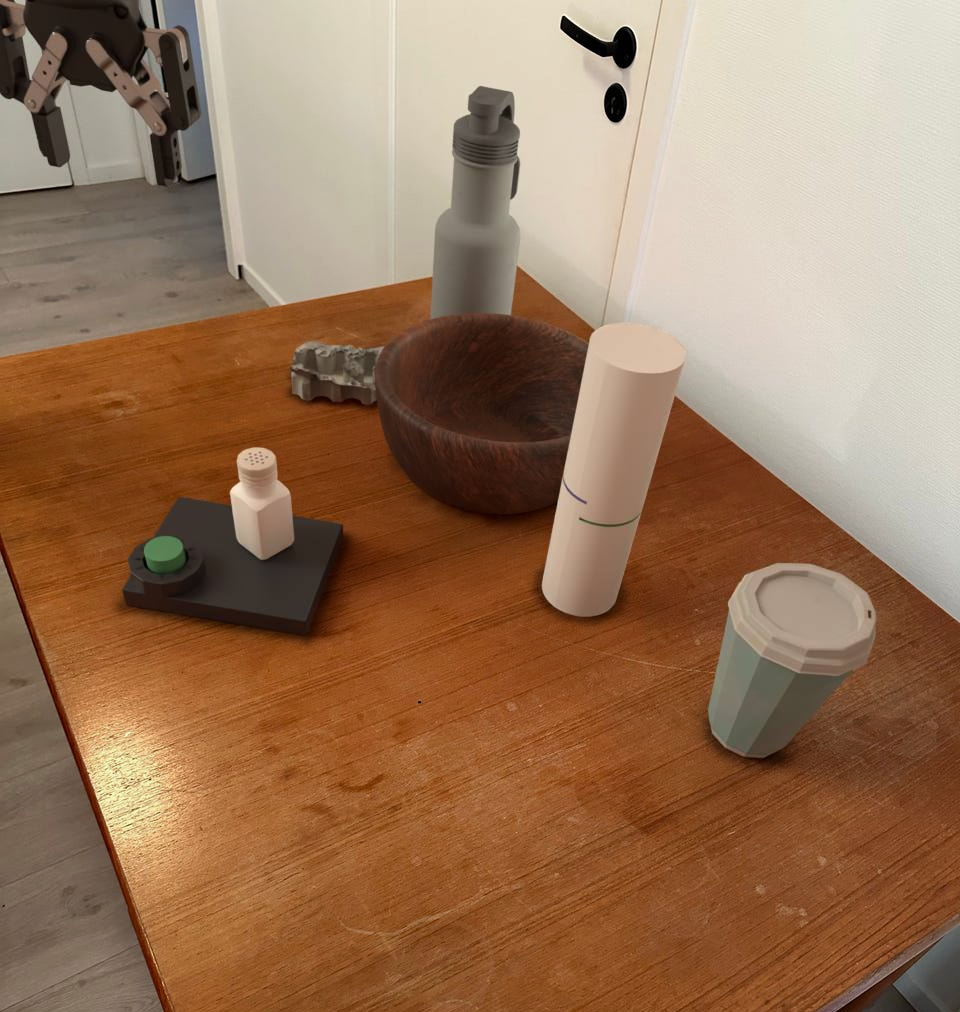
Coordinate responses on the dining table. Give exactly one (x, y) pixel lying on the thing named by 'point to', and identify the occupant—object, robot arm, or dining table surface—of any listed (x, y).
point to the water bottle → (479, 212)
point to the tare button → (164, 555)
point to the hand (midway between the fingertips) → (113, 173)
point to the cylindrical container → (610, 463)
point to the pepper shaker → (261, 505)
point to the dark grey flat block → (236, 571)
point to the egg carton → (334, 372)
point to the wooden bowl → (481, 408)
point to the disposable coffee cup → (786, 653)
